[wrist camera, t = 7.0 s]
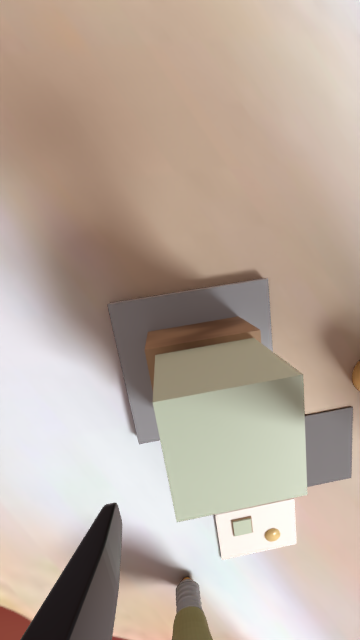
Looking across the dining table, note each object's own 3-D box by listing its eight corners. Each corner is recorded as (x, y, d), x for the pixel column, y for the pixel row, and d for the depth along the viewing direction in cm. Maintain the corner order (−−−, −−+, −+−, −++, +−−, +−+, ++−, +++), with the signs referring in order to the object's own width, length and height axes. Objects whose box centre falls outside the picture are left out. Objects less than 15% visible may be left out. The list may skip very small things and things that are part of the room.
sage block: (253, 337, 14) (303, 374, 9) (261, 423, 15) (307, 494, 11) (155, 355, 14) (152, 402, 9) (171, 440, 15) (177, 522, 10)
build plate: (263, 278, 18) (267, 278, 17) (272, 412, 21) (277, 417, 20) (109, 302, 18) (107, 304, 17) (139, 437, 20) (139, 444, 20)
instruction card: (293, 496, 23) (295, 500, 23) (295, 541, 25) (297, 546, 24) (214, 513, 23) (215, 517, 23) (221, 557, 24) (222, 562, 24)
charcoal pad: (351, 406, 22) (352, 407, 21) (350, 476, 23) (351, 477, 23) (267, 422, 21) (268, 423, 21) (273, 492, 23) (273, 493, 23)
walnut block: (238, 316, 18) (260, 330, 14) (246, 397, 19) (268, 429, 16) (147, 331, 18) (144, 349, 14) (163, 412, 19) (164, 449, 15)
